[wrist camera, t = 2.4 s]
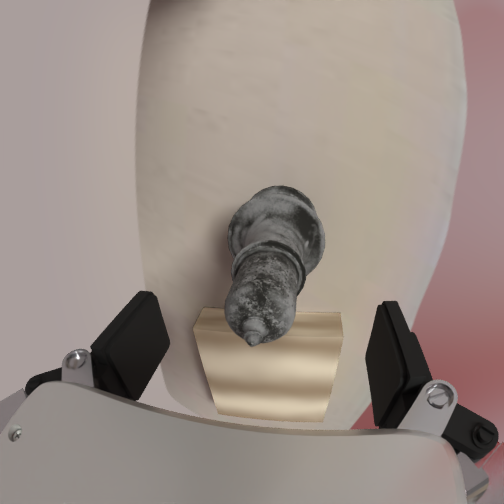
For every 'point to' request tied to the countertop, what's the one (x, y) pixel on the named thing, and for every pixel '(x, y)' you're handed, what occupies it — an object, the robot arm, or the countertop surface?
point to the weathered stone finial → (271, 262)
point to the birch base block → (271, 367)
